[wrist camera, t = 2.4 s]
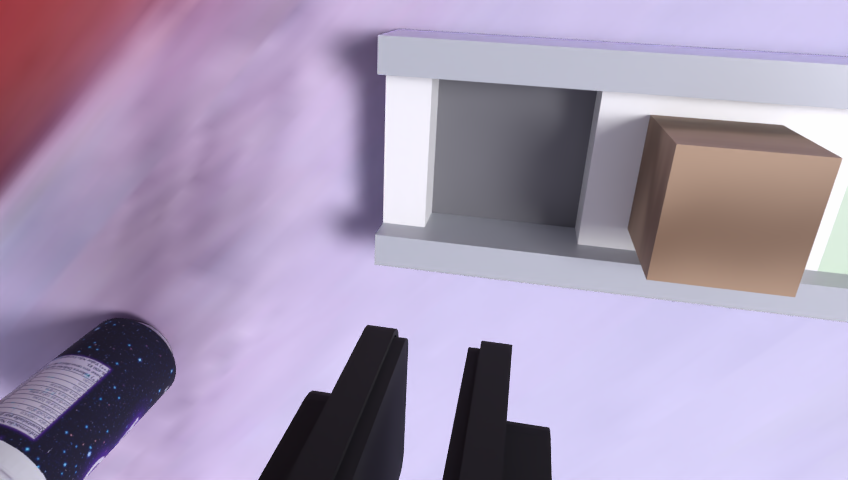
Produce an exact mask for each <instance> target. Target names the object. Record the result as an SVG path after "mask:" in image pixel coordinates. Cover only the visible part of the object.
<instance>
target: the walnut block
mask: <svg viewBox="0 0 848 480" xmlns="http://www.w3.org/2000/svg"><path fill="white" fill-rule="evenodd" d="M842 159H843V158H841V157H840V156H838V155H836V154H834V153H832V152H831V151H829V150H827V149H825V148H823V147H822V146H820V145H818V144H816V143H814V142H813V141H811V140H809V139H807V138H805V137H804V136H802V135H800V134H798V133H796V132H795V131H793V130H791V129H789V128H787V127H786V126H784V125H776V124H764V123H751V122H738V121H726V120H713V119H700V118H687V117H675V116H662V115H650V119H649V124H648V129H647V134H646V139H645V144H644V149H643V154H642V159H641V164H640V169H639V174H638V179H637V184H636V189H635V194H634V199H633V204H632V209H631V214H630V219H629V224H628V231H629V234H630V237H631V240H632V242H633V245H634V248H635V250H636V253H637V256H638V258H639V261H640V264H641V267H642V269H643V272H644V275H645V277H646V280H652V281H661V282H669V283H678V284H686V285H694V286H703V287H711V288H720V289H728V290H737V291H745V292H754V293H762V294H771V295H779V296H788V297H795V296H796V293H797V290H798V288H799V285H800V282H801V279H802V276H803V273H804V270H805V267H806V264H807V261H808V258H809V255H810V252H811V250H812V247H813V244H814V241H815V238H816V235H817V232H818V229H819V226H820V223H821V220H822V217H823V215H824V212H825V209H826V206H827V203H828V200H829V197H830V194H831V191H832V188H833V185H834V182H835V179H836V177H837V174H838V171H839V168H840V165H841V162H842Z"/></svg>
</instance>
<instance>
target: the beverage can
mask: <svg viewBox="0 0 848 480" xmlns="http://www.w3.org/2000/svg"><path fill="white" fill-rule="evenodd" d="M175 374H176V365H175V361H174V357H173V354H172V350H171V348H170V345H169V344H168V342H167V340H166V339H165V338H164V337H163V335H162V334H161V333H160V332H158V331H157V330H156V329H154V328H153V327H151V326H149V325H147V324H144V323H141V322H137V321H134V320H130V319H124V318H115V319H110V320H107V321H104V322H102V323H101V324H100V325H98V326H97V327H96V328H94V329H93V330H92V331H90V332H89V333H88V334H86V335H85V336H84V337H83V338H81V339H80V340H79V341H77V342H76V343H75V344H73V345H72V346H71V347H69V348H68V349H67V350H66V351H64V352H63V353H62V354H60V355H59V356H58V357H56V358H55V359H54V360H52V361H51V362H50V363H49V364H47V365H46V366H45V367H43V368H42V369H41V370H39V371H38V372H37V373H35V374H34V375H33V376H31V377H30V378H29V379H28V380H26V381H25V382H24V383H22V384H21V385H20V386H18V387H17V388H16V389H14V390H13V391H12V392H11V393H9V394H8V395H7V396H5V397H4V398H3V399H1V400H0V480H84V479H85V478H86V477H87V476H88V475H89V474H90V473H91V472H92V471H93V470H94V468H95V467H96V466H97V465H98V464H99V463H100V462H101V461H102V460H103V459H104V458H105V457H106V455H107V454H108V453H109V452H110V451H111V450H112V449H113V448H114V447H115V446H116V445H117V444H118V443H119V441H120V440H121V439H122V438H123V437H124V436H125V435H126V434H127V433H128V432H129V431H130V430H131V428H132V427H133V426H134V425H135V424H136V423H137V422H138V421H139V420H140V419H141V418H142V417H143V416H144V414H145V413H146V412H147V411H148V410H149V409H150V408H151V407H152V406H153V405H154V404H155V403H156V401H157V400H158V399H159V398H160V397H161V396H162V395H163V394H164V393H165V392H166V391H167V390H168V389H169V387H170V386H171V385H172V383H173V381H174V379H175Z"/></svg>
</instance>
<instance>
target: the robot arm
mask: <svg viewBox="0 0 848 480" xmlns="http://www.w3.org/2000/svg"><path fill="white" fill-rule="evenodd" d="M511 354H512V345H509V344H502V343H495V342H487V341H482V342H481V348H480V349H478V348H471V347H469V348H468V353H467V358H466V363H465V368H464V373H463V378H462V383H461V388H460V393H459V398H458V404H457V409H456V414H455V419H454V424H453V429H452V434H451V439H450V444H449V449H448V454H447V459H446V465H445V470H444V475H443V480H552V476H551V438H550V429H549V428H548V427H542V426H535V425H529V424H522V423H516V422H510V421H507V408H508V394H509V381H510V368H511ZM407 360H408V339H407V338H400V337H398V330H397V329H393V328H386V327H379V326H371V325H367V326H366V327H365V329H364V331H363V333H362V335H361V337H360V338H359V340H358V342H357V344H356V346H355V348H354V350H353V352H352V354H351V356H350V358H349V360H348V362H347V364H346V366H345V368H344V370H343V372H342V373H341V375H340V377H339V379H338V381H337V383H336V385H335V387H334V389H333V391H332V393H325V392H319V391H311V392H309V393H308V395H307V396H306V397H305V399H304V401H303V402H302V404H301V406H300V408H299V409H298V411H297V413H296V415H295V416H294V418H293V420H292V422H291V423H290V425H289V427H288V429H287V430H286V432H285V434H284V436H283V437H282V439H281V441H280V443H279V444H278V446H277V448H276V450H275V451H274V453H273V455H272V457H271V458H270V460H269V462H268V464H267V465H266V467H265V469H264V471H263V472H262V474H261V476H260V478H259V479H258V480H399V476H400V473H401V468H402V462H403V454H404V432H405V408H406V384H407Z"/></svg>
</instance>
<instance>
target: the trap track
mask: <svg viewBox="0 0 848 480" xmlns="http://www.w3.org/2000/svg"><path fill="white" fill-rule="evenodd" d="M377 74H378V75H386V97H385V149H384V200H383V223H382V225H381V226H380V228H379V229H378V231H377V232H376V234H375V265H382V266H390V267H398V268H406V269H415V270H423V271H431V272H439V273H447V274H455V275H464V276H472V277H480V278H488V279H496V280H504V281H513V282H521V283H529V284H537V285H545V286H553V287H562V288H570V289H578V290H586V291H594V292H602V293H611V294H619V295H627V296H635V297H643V298H651V299H660V300H668V301H676V302H684V303H692V304H700V305H709V306H717V307H725V308H733V309H741V310H749V311H758V312H766V313H774V314H782V315H790V316H798V317H807V318H815V319H823V320H831V321H839V322H847V323H848V57H846V56H830V55H814V54H797V53H781V52H765V51H749V50H733V49H717V48H701V47H685V46H668V45H652V44H636V43H620V42H604V41H588V40H572V39H556V38H539V37H523V36H507V35H491V34H475V33H459V32H443V31H427V30H410V29H397V30H394V31H390V32H387V33H383V34H380V35H378V53H377ZM650 115H662V116H675V117H687V118H700V119H713V120H726V121H738V122H751V123H764V124H776V125H784V126H786V127H787V128H789V129H791V130H793V131H795V132H796V133H798V134H800V135H802V136H804V137H805V138H807V139H809V140H811V141H813V142H814V143H816V144H818V145H820V146H822V147H823V148H825V149H827V150H829V151H831V152H832V153H834V154H836V155H838V156H840V157H841V158H843V159H842V162H841V165H840V168H839V171H838V174H837V177H836V179H835V182H834V185H833V188H832V191H831V194H830V197H829V200H828V203H827V206H826V209H825V212H824V215H823V217H822V220H821V223H820V226H819V229H818V232H817V235H816V238H815V241H814V244H813V247H812V250H811V252H810V255H809V258H808V261H807V264H806V267H805V270H804V273H803V276H802V279H801V282H800V285H799V288H798V290H797V293H796V296H795V297H788V296H779V295H771V294H762V293H754V292H745V291H737V290H728V289H720V288H711V287H703V286H694V285H686V284H678V283H669V282H661V281H652V280H646V277H645V275H644V272H643V269H642V267H641V264H640V261H639V258H638V256H637V253H636V250H635V248H634V245H633V242H632V240H631V237H630V234H629V231H628V224H629V219H630V214H631V209H632V204H633V199H634V194H635V189H636V184H637V179H638V174H639V169H640V164H641V159H642V154H643V149H644V144H645V139H646V134H647V129H648V124H649V119H650Z"/></svg>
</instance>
